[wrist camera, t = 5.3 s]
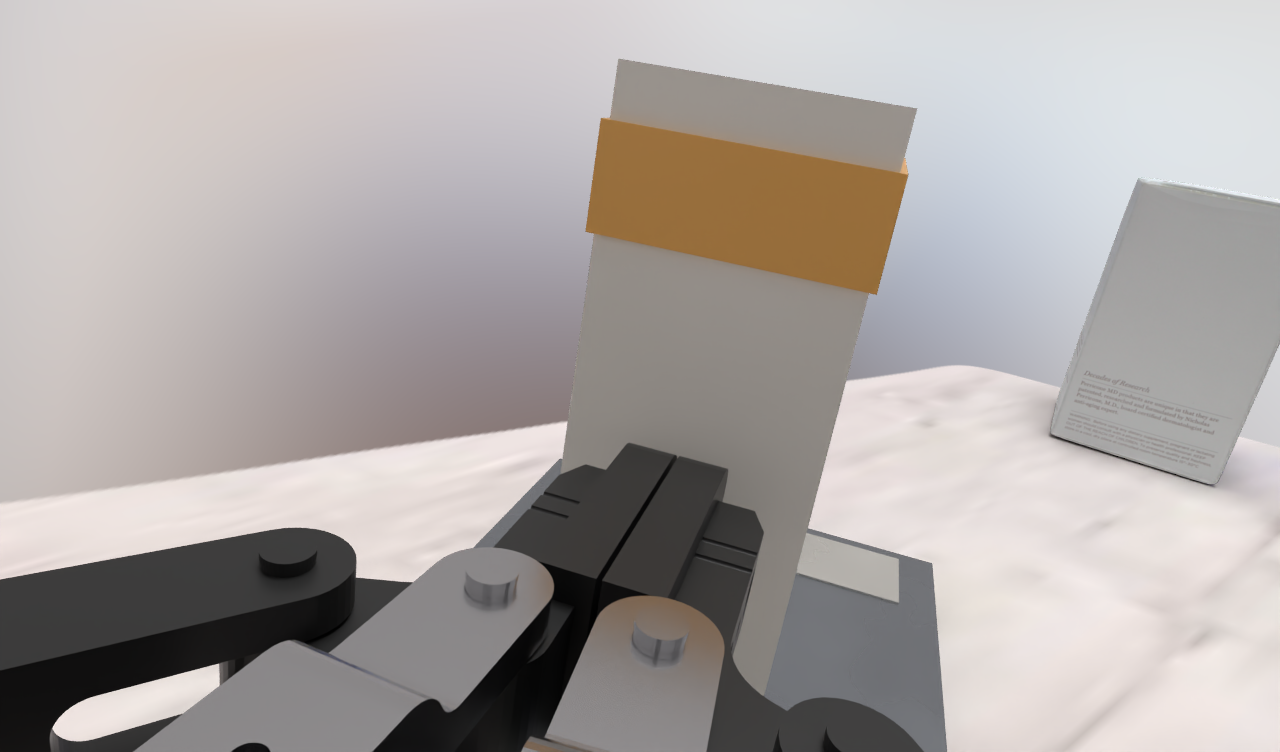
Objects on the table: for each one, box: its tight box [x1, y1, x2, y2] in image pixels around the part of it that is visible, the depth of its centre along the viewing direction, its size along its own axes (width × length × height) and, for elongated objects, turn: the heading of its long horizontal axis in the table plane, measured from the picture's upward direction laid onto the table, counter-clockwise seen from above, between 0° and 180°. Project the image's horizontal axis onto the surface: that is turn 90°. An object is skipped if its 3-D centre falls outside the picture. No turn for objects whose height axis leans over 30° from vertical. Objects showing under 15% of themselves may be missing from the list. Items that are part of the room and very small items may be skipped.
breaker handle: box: [561, 59, 917, 696], centre depth 15 cm, size 4×4×12 cm
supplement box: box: [1050, 178, 1280, 484], centre depth 40 cm, size 7×7×13 cm
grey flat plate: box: [474, 459, 947, 752], centre depth 17 cm, size 20×12×1 cm, turn 164°
